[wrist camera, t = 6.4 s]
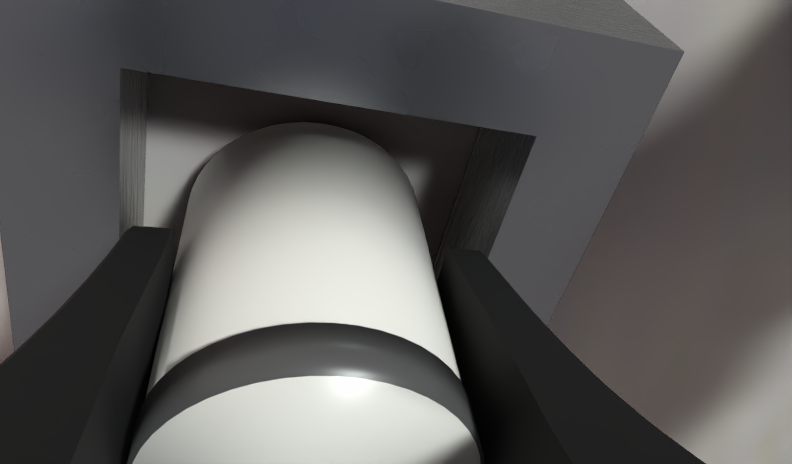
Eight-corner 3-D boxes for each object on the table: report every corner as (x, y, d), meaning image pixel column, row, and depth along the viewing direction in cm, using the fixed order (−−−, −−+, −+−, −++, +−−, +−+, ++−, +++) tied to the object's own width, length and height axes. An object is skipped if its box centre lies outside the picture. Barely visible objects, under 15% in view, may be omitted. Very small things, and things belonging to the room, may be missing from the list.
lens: (465, 222, 14) (550, 476, 9) (306, 338, 16) (310, 608, 11) (303, 69, 12) (309, 309, 7) (134, 225, 13) (44, 509, 9)
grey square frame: (622, -1, 12) (684, 51, 10) (464, 369, 18) (485, 449, 16) (26, -134, 10) (-39, -99, 8) (57, 339, 16) (23, 429, 14)
